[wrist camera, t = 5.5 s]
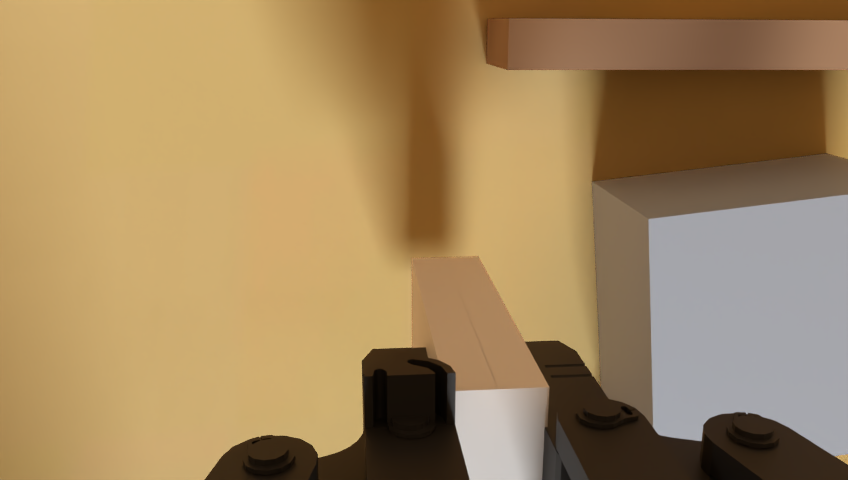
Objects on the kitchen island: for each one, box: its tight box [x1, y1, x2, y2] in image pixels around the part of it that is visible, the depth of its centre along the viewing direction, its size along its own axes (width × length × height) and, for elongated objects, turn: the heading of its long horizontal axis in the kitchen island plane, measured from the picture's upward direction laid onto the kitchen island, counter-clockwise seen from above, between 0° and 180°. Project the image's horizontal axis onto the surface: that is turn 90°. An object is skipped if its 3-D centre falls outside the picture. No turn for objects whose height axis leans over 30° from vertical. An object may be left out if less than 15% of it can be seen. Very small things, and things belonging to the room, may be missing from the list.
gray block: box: [592, 153, 848, 456], centre depth 19 cm, size 6×6×4 cm
